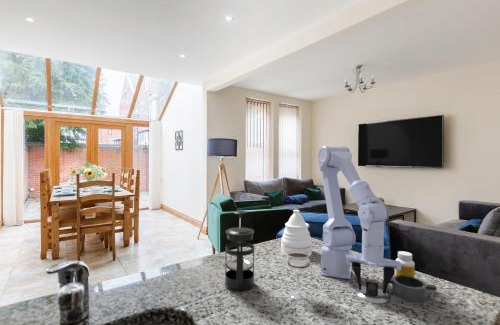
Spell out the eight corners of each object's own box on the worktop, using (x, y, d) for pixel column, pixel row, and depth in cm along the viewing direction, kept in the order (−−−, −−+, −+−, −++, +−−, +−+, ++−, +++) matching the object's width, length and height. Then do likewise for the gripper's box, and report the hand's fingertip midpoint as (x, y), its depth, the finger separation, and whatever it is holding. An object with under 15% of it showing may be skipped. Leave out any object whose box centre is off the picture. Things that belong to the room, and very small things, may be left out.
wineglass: (290, 287, 84) (290, 248, 84) (312, 292, 81) (312, 252, 81) (282, 297, 78) (283, 255, 78) (306, 303, 75) (306, 259, 75)
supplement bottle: (417, 288, 84) (417, 256, 84) (398, 286, 85) (398, 255, 85) (410, 280, 89) (411, 251, 89) (392, 279, 91) (393, 249, 90)
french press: (225, 277, 91) (225, 208, 91) (253, 277, 91) (254, 208, 91) (223, 295, 79) (223, 215, 79) (255, 294, 80) (256, 215, 79)
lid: (356, 301, 77) (356, 286, 77) (354, 286, 86) (354, 273, 85) (391, 306, 74) (391, 292, 74) (386, 290, 83) (386, 277, 83)
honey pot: (311, 258, 108) (312, 213, 108) (279, 255, 111) (279, 211, 111) (312, 248, 121) (312, 207, 121) (282, 245, 124) (283, 206, 124)
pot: (384, 297, 78) (385, 283, 78) (382, 284, 86) (382, 272, 86) (439, 307, 74) (439, 292, 73) (431, 292, 82) (431, 279, 81)
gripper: (345, 244, 79) (344, 291, 79) (403, 251, 73) (402, 301, 73) (346, 238, 85) (345, 281, 85) (399, 243, 80) (398, 290, 80)
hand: (371, 290), depth 80 cm, fingers open, 6 cm apart
